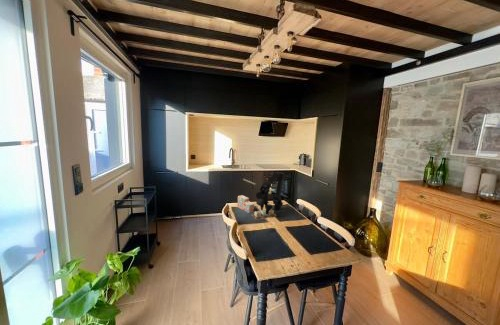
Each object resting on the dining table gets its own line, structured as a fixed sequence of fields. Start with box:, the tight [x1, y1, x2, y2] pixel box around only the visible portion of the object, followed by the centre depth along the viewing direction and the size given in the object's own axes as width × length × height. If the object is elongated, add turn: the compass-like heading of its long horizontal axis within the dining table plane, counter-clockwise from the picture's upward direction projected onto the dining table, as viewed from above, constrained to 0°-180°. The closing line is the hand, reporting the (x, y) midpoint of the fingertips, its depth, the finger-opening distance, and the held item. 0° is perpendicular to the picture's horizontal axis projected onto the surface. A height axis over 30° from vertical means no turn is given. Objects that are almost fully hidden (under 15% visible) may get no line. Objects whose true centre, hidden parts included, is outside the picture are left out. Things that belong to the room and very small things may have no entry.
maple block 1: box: [253, 210, 261, 217], centre depth 186 cm, size 4×4×4 cm
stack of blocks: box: [237, 194, 255, 214], centre depth 202 cm, size 21×6×12 cm, turn 35°
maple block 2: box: [268, 208, 275, 215], centre depth 192 cm, size 4×4×4 cm
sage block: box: [260, 209, 267, 216], centre depth 189 cm, size 4×4×4 cm
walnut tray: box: [251, 212, 277, 221], centre depth 189 cm, size 22×11×2 cm, turn 116°
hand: (264, 212), depth 189 cm, fingers open, 9 cm apart
